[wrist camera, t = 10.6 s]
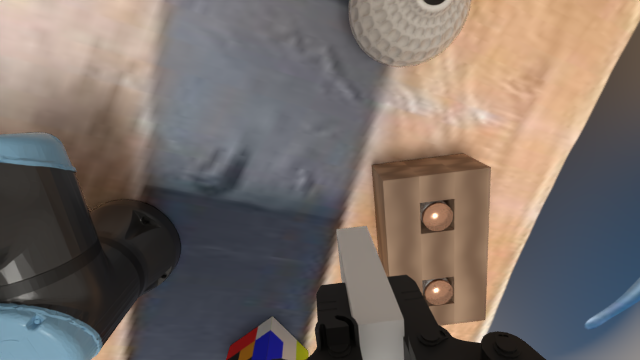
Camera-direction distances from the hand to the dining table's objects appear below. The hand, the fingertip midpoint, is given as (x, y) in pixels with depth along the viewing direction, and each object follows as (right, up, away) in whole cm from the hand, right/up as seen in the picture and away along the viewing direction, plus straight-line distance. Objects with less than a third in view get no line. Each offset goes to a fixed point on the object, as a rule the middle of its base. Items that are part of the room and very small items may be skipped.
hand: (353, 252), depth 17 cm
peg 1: (+14, +1, +35) cm, 38 cm away
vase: (+8, +25, +28) cm, 39 cm away
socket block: (+15, -5, +38) cm, 41 cm away
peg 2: (+15, -11, +39) cm, 43 cm away
